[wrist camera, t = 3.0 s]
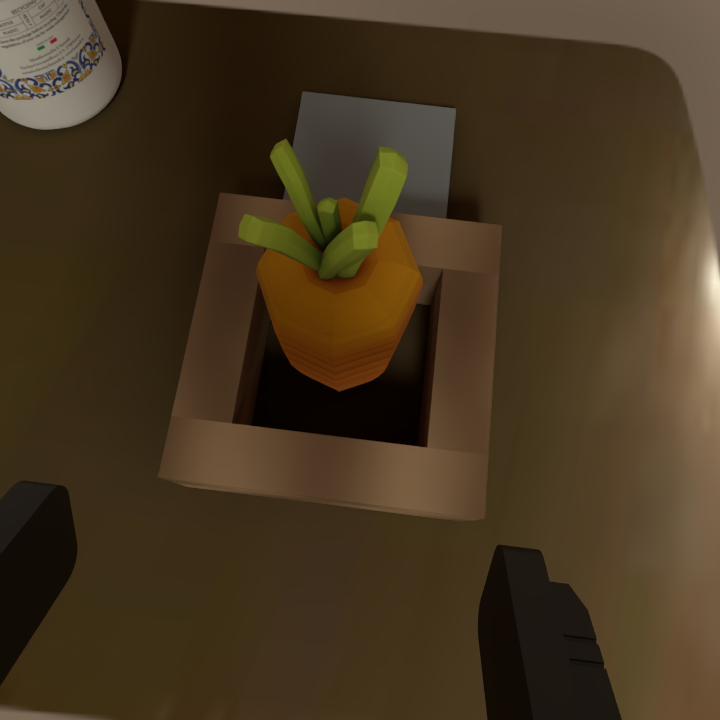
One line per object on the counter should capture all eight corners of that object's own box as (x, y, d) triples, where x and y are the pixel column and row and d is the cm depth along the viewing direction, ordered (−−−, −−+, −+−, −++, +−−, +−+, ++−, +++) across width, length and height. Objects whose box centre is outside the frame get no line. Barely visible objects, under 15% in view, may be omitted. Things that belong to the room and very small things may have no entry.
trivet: (279, 233, 29) (278, 227, 29) (303, 99, 32) (302, 91, 31) (441, 252, 29) (443, 247, 28) (454, 116, 31) (456, 108, 31)
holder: (186, 486, 26) (158, 477, 22) (237, 238, 29) (219, 192, 25) (464, 521, 25) (484, 518, 22) (482, 267, 29) (502, 225, 25)
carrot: (283, 420, 27) (205, 280, 12) (293, 316, 28) (235, 80, 14) (395, 427, 27) (448, 294, 12) (399, 322, 28) (451, 93, 14)
